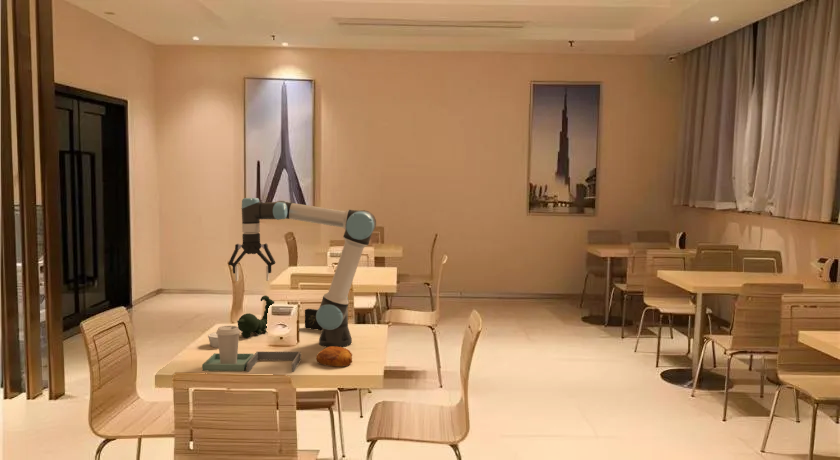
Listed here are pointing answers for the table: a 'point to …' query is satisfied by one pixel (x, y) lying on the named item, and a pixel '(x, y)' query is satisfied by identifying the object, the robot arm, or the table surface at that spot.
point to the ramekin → (213, 340)
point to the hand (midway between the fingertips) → (252, 280)
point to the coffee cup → (228, 344)
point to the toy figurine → (254, 321)
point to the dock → (275, 358)
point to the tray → (215, 365)
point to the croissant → (334, 356)
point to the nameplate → (311, 319)
